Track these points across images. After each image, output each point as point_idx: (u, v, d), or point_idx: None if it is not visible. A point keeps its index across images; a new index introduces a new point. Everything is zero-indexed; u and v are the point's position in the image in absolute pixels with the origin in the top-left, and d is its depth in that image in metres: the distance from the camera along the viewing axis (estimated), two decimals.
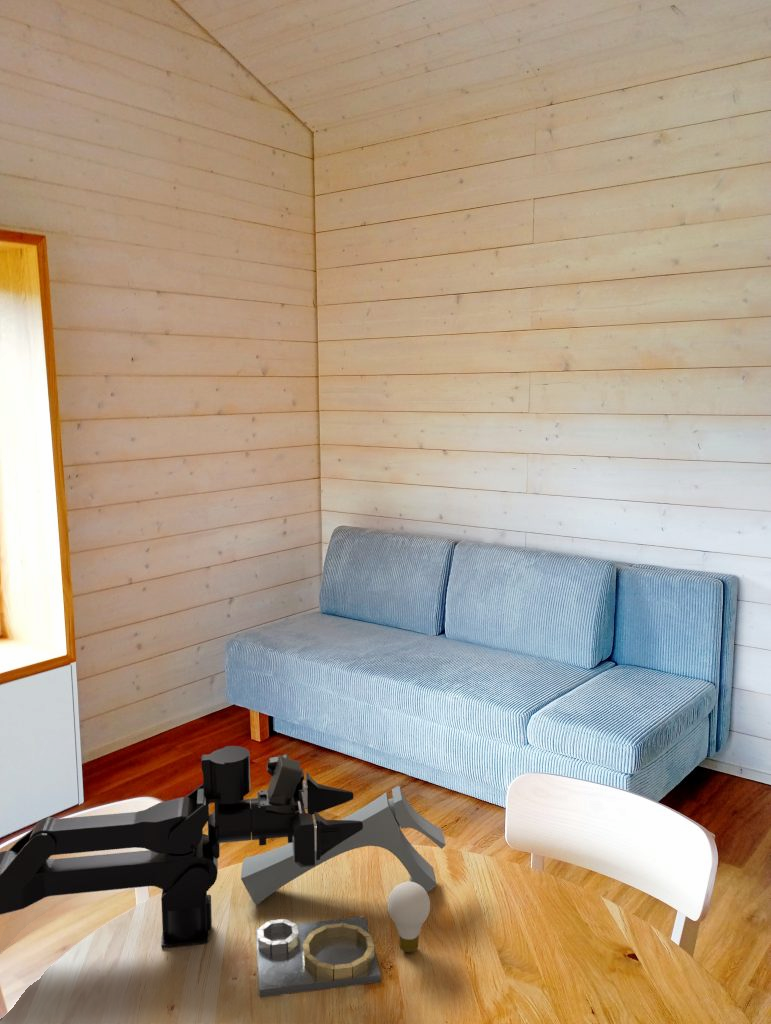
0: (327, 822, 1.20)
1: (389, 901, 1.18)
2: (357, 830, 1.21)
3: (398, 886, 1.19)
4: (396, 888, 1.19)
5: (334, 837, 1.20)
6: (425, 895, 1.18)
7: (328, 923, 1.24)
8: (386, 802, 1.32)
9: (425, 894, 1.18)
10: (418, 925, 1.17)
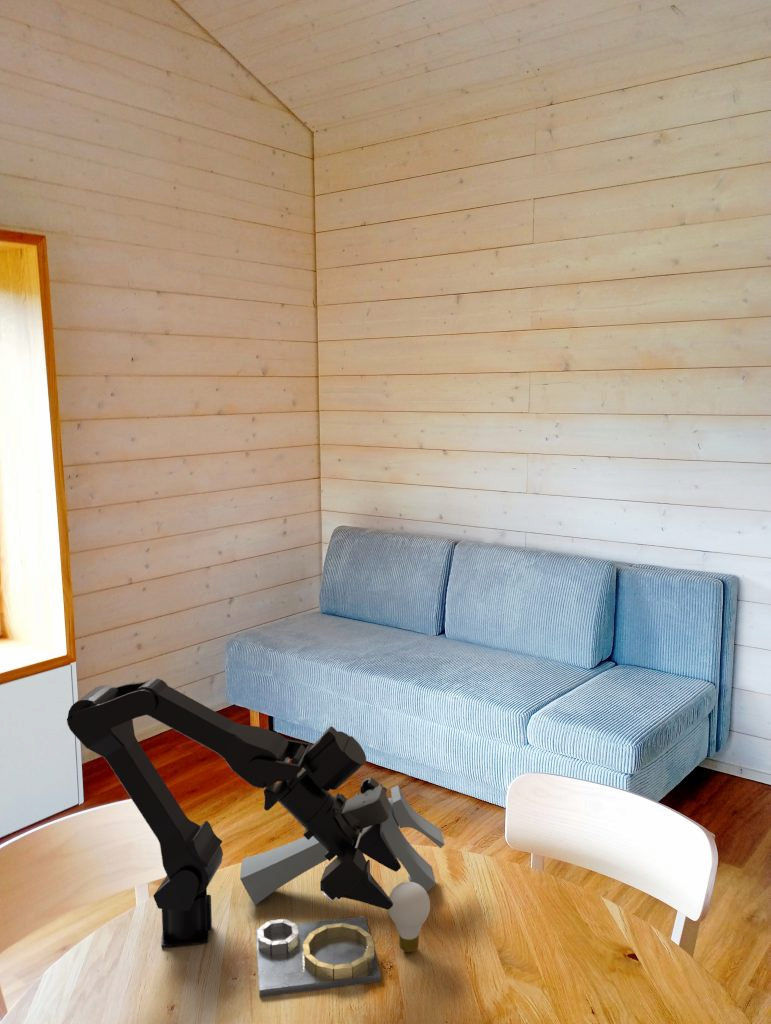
0: (370, 877, 1.13)
1: None
2: (383, 906, 1.14)
3: (398, 886, 1.19)
4: (396, 888, 1.19)
5: (363, 893, 1.13)
6: (425, 895, 1.18)
7: (328, 923, 1.24)
8: None
9: (425, 894, 1.18)
10: (418, 925, 1.17)
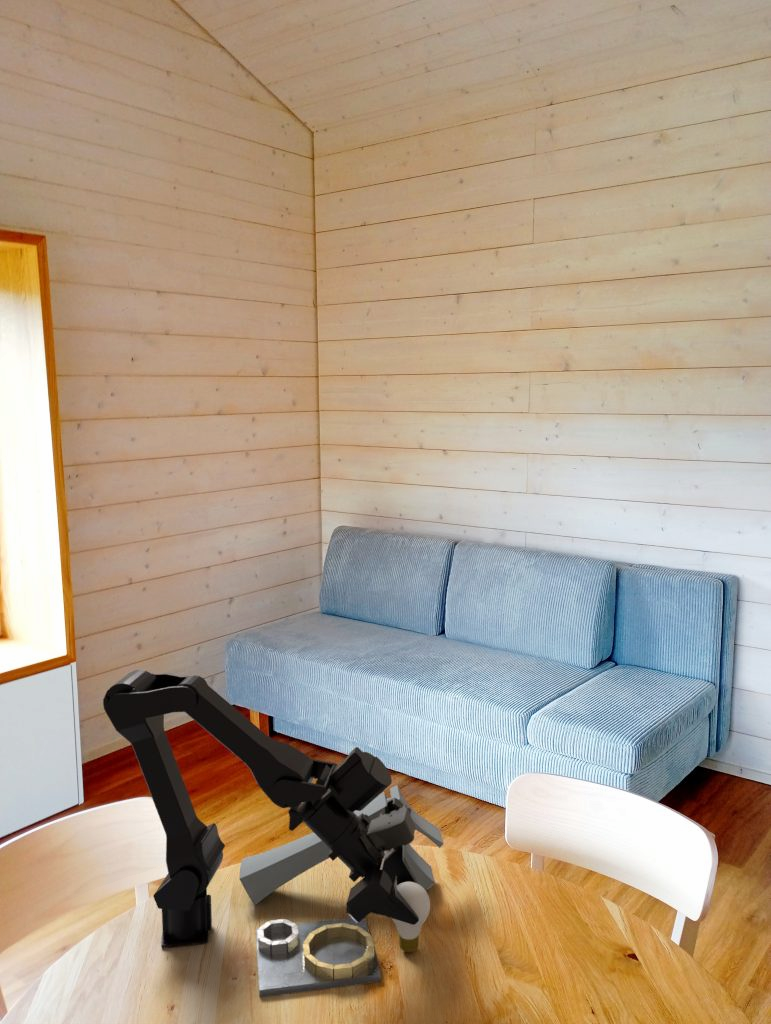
0: (396, 893, 1.14)
1: None
2: (409, 922, 1.15)
3: (398, 886, 1.19)
4: None
5: (389, 909, 1.15)
6: (425, 895, 1.18)
7: (328, 923, 1.24)
8: (384, 801, 1.32)
9: (425, 894, 1.18)
10: (418, 925, 1.17)
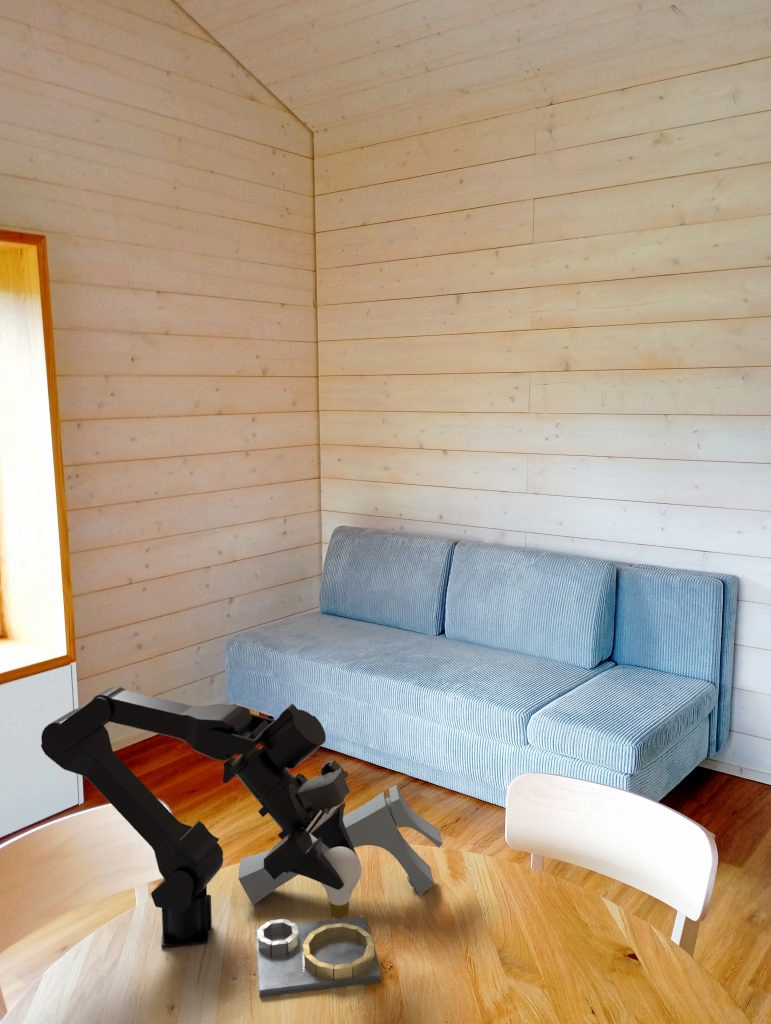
0: (320, 855, 1.11)
1: None
2: (333, 886, 1.12)
3: (329, 850, 1.16)
4: (327, 852, 1.16)
5: (313, 870, 1.12)
6: (355, 861, 1.15)
7: (328, 923, 1.24)
8: (383, 801, 1.32)
9: (355, 860, 1.15)
10: (345, 891, 1.14)
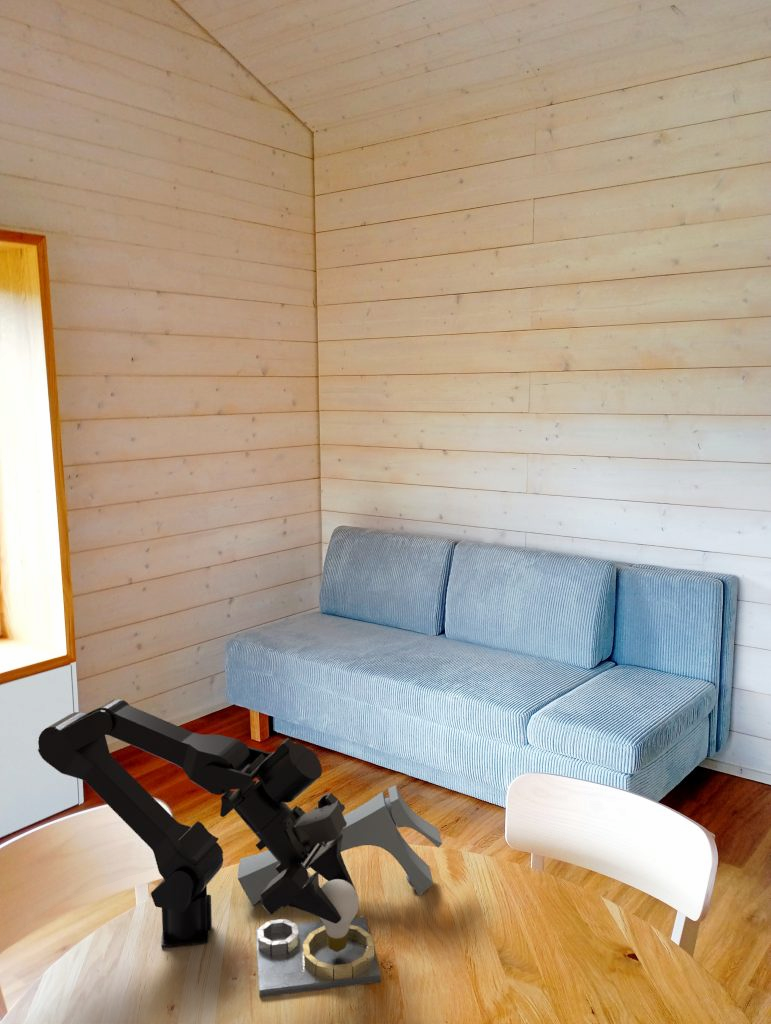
0: (317, 889, 1.12)
1: None
2: (331, 920, 1.13)
3: (326, 883, 1.17)
4: (324, 885, 1.16)
5: (310, 905, 1.13)
6: (352, 895, 1.15)
7: None
8: (383, 801, 1.32)
9: (352, 894, 1.15)
10: (343, 924, 1.15)
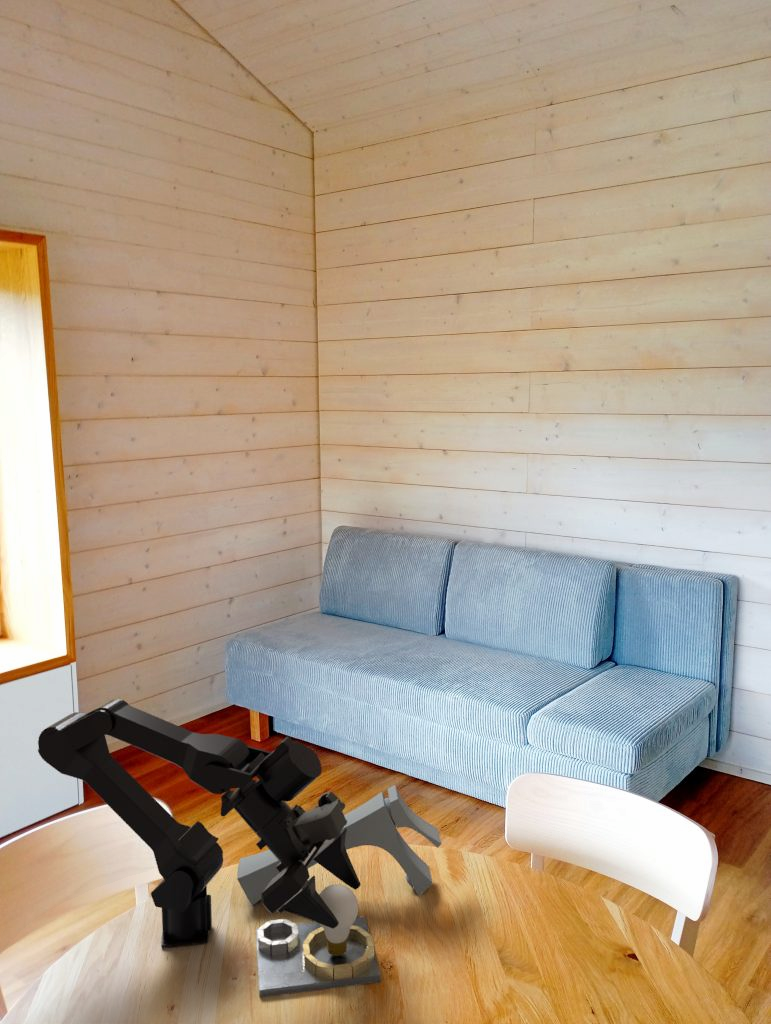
0: (314, 894, 1.11)
1: None
2: (328, 925, 1.11)
3: (326, 888, 1.17)
4: (324, 890, 1.17)
5: (307, 909, 1.11)
6: (352, 899, 1.15)
7: None
8: (382, 801, 1.32)
9: (352, 898, 1.16)
10: (342, 929, 1.15)
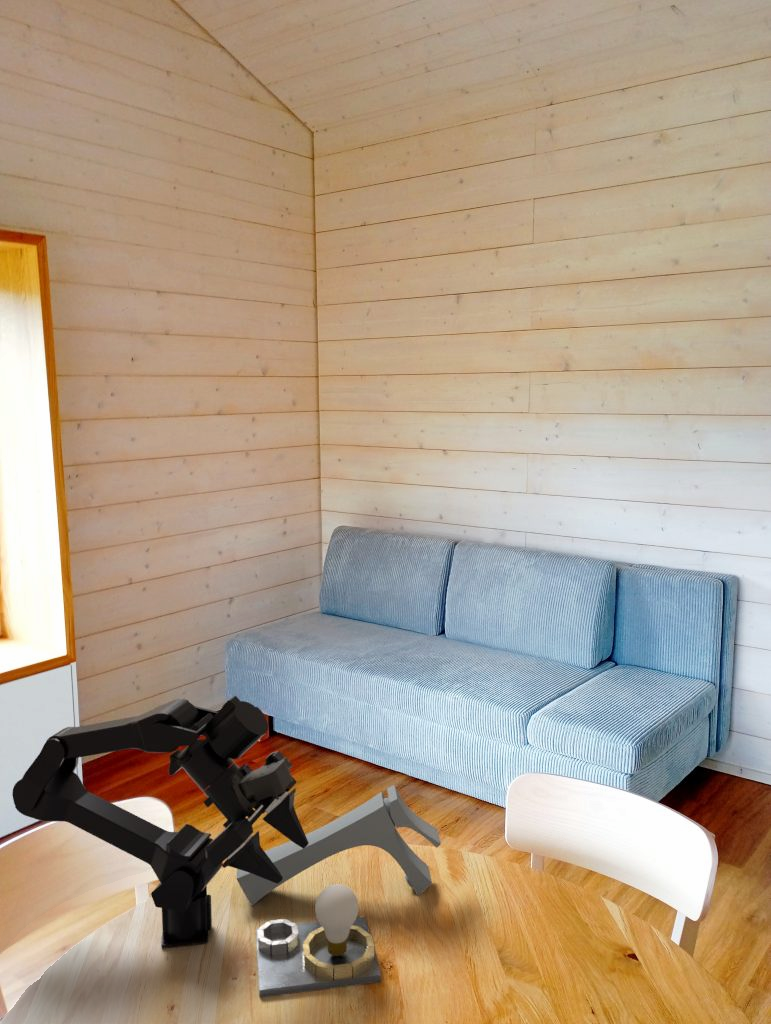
0: (258, 849, 1.12)
1: (316, 902, 1.16)
2: (272, 880, 1.13)
3: (326, 888, 1.17)
4: (324, 890, 1.17)
5: (251, 865, 1.13)
6: (352, 899, 1.15)
7: None
8: (381, 801, 1.32)
9: (352, 898, 1.16)
10: (343, 929, 1.15)
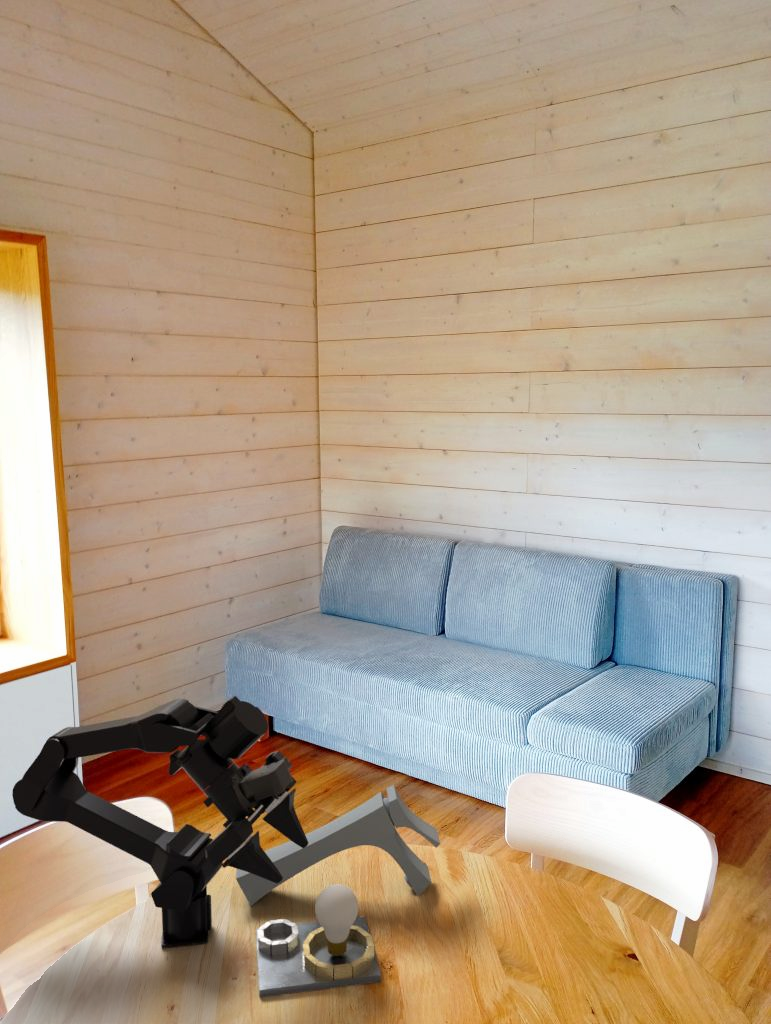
0: (258, 849, 1.12)
1: (316, 902, 1.16)
2: (272, 880, 1.13)
3: (326, 888, 1.17)
4: (324, 890, 1.17)
5: (251, 864, 1.13)
6: (352, 899, 1.15)
7: None
8: (381, 801, 1.32)
9: (352, 898, 1.16)
10: (342, 929, 1.15)
